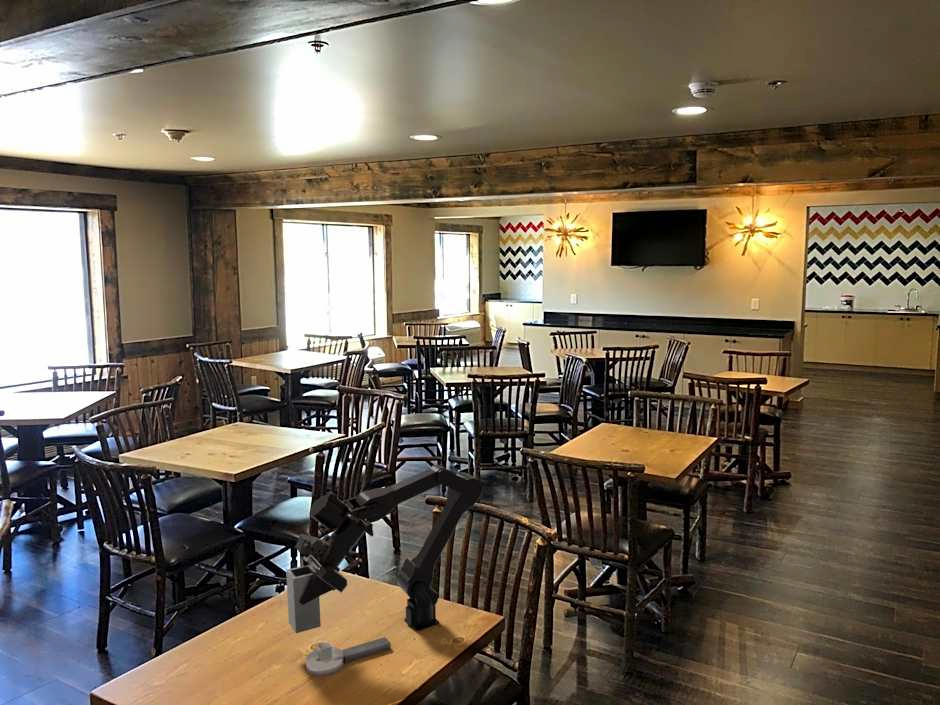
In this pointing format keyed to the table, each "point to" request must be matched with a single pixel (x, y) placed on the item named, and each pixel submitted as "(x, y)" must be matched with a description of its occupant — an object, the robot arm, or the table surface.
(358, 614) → the table surface
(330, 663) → the ratchet
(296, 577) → the socket
